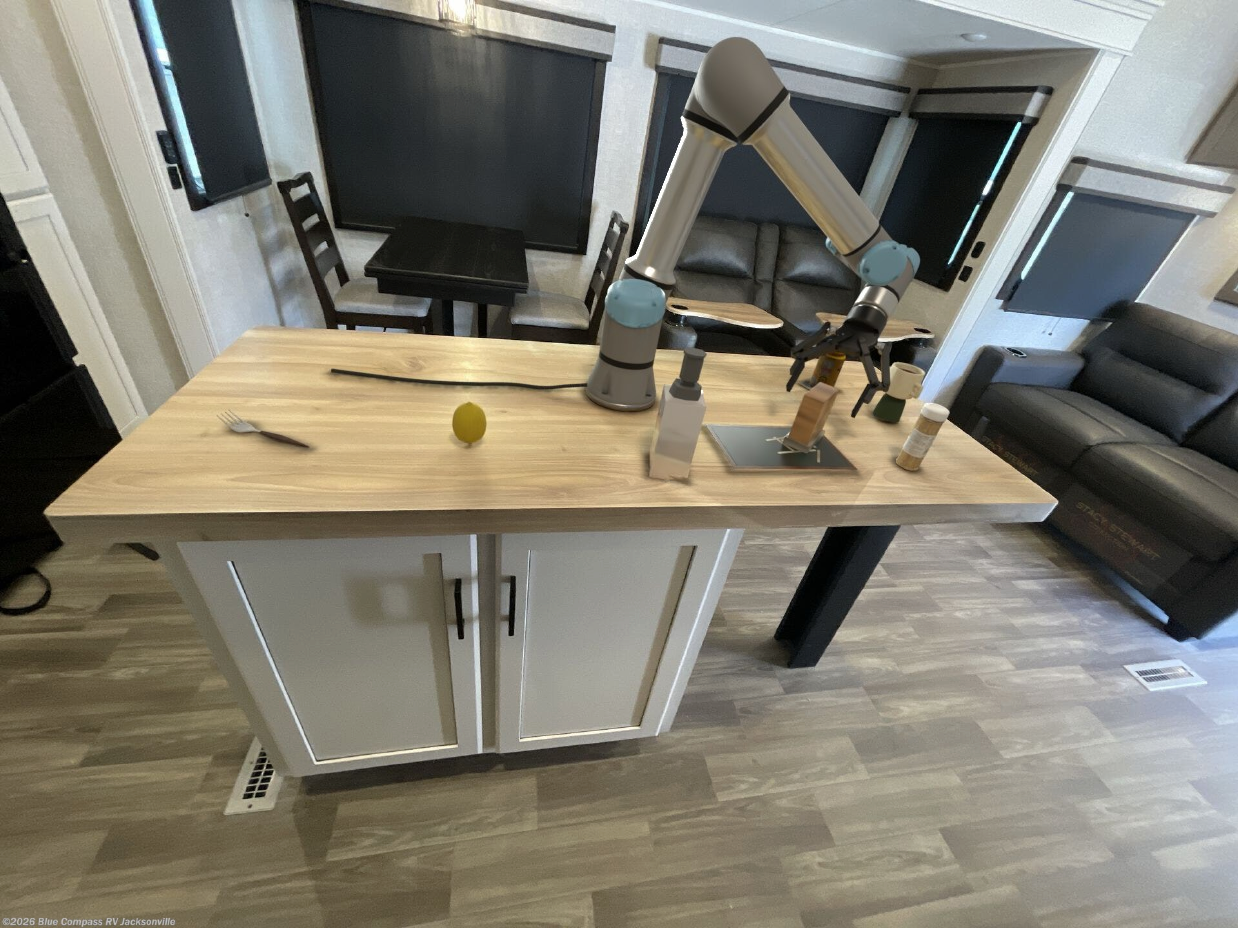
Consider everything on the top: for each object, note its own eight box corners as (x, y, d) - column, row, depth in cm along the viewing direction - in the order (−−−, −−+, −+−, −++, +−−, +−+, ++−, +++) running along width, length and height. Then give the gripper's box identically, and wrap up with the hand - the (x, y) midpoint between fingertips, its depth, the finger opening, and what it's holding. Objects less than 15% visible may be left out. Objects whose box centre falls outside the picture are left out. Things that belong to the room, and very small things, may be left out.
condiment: (839, 391, 137) (857, 347, 130) (819, 395, 132) (837, 350, 126) (817, 379, 142) (833, 336, 135) (796, 383, 137) (813, 338, 131)
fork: (303, 454, 82) (301, 443, 81) (218, 426, 84) (215, 415, 83) (316, 446, 84) (314, 435, 83) (232, 419, 86) (229, 408, 85)
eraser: (806, 454, 104) (827, 404, 98) (782, 443, 106) (800, 393, 100) (822, 437, 111) (842, 389, 105) (799, 427, 113) (817, 380, 107)
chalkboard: (732, 472, 96) (733, 467, 95) (703, 427, 109) (704, 423, 108) (855, 473, 102) (857, 469, 102) (814, 431, 115) (816, 427, 115)
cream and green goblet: (912, 429, 123) (939, 379, 116) (889, 430, 121) (915, 379, 114) (880, 407, 132) (903, 358, 125) (858, 408, 129) (880, 358, 122)
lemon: (457, 454, 88) (456, 412, 83) (449, 437, 92) (448, 396, 87) (490, 450, 90) (491, 408, 86) (481, 433, 94) (481, 393, 90)
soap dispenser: (682, 455, 98) (711, 342, 86) (686, 482, 91) (718, 363, 79) (648, 450, 98) (672, 336, 86) (649, 477, 91) (675, 356, 79)
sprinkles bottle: (904, 458, 111) (934, 401, 103) (922, 470, 107) (955, 412, 100) (890, 461, 109) (919, 402, 101) (908, 473, 105) (940, 414, 98)
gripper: (929, 345, 106) (880, 433, 103) (811, 307, 117) (763, 387, 114) (937, 324, 99) (885, 418, 97) (811, 286, 110) (761, 370, 108)
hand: (819, 401), depth 105 cm, fingers open, 13 cm apart
